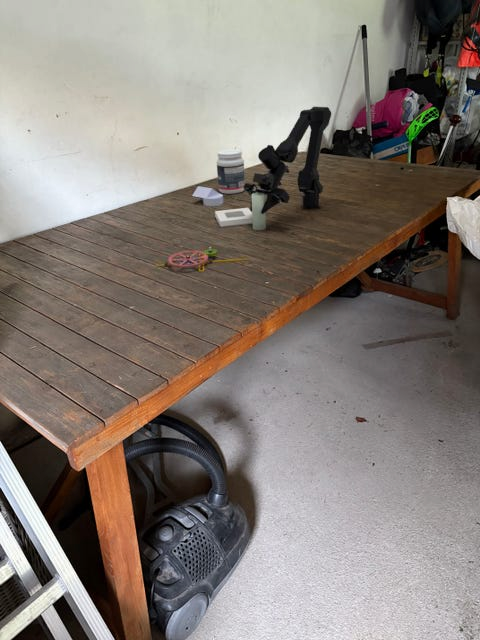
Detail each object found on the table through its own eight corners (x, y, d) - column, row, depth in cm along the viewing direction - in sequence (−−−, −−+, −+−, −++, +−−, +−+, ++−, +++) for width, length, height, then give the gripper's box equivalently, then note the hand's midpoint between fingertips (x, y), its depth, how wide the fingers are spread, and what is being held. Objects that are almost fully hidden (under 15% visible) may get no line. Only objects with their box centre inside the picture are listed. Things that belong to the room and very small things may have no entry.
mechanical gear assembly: (157, 258, 171) (154, 278, 158) (155, 247, 168) (152, 266, 156) (245, 252, 172) (249, 271, 159) (244, 241, 170) (249, 259, 157)
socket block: (248, 213, 210) (248, 207, 208) (255, 223, 197) (255, 217, 196) (215, 216, 207) (214, 211, 206) (220, 227, 195) (220, 221, 194)
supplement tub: (217, 188, 248) (214, 150, 239) (243, 186, 248) (241, 148, 240) (219, 195, 236) (216, 155, 227) (246, 193, 237) (245, 153, 228)
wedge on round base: (192, 203, 227) (214, 207, 220) (191, 188, 224) (213, 192, 217) (205, 198, 233) (227, 202, 226) (204, 183, 230) (226, 187, 223)
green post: (264, 225, 195) (263, 192, 189) (267, 229, 190) (266, 195, 184) (251, 226, 194) (250, 193, 188) (254, 231, 190) (253, 196, 183)
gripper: (245, 161, 189) (226, 197, 188) (284, 166, 178) (265, 204, 176) (259, 177, 198) (242, 212, 196) (297, 184, 187) (279, 220, 185)
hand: (256, 212), depth 188 cm, fingers closed on green post, 5 cm apart
